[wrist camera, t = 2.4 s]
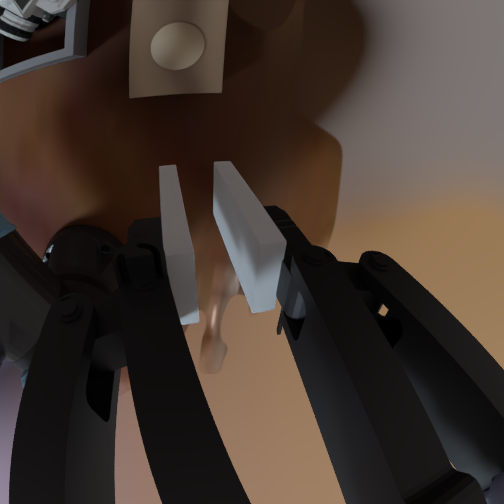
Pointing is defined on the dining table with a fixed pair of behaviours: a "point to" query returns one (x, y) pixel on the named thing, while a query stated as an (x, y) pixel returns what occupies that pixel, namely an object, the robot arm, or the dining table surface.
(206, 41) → the beige slotted holder
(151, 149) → the dining table surface
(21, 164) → the dining table surface
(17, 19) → the camera
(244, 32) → the dining table surface
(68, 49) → the caddy
